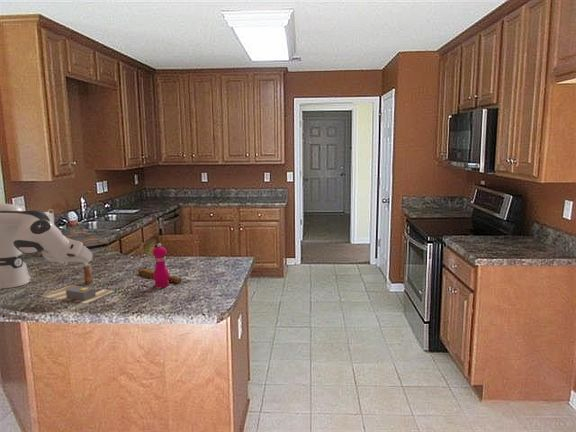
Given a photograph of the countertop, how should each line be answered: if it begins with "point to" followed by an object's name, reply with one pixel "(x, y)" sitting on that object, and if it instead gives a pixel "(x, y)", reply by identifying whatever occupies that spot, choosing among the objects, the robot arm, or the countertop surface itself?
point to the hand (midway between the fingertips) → (76, 264)
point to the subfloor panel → (62, 296)
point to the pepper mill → (160, 267)
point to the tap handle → (150, 273)
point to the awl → (88, 274)
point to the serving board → (89, 239)
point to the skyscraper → (50, 217)
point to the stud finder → (80, 293)
